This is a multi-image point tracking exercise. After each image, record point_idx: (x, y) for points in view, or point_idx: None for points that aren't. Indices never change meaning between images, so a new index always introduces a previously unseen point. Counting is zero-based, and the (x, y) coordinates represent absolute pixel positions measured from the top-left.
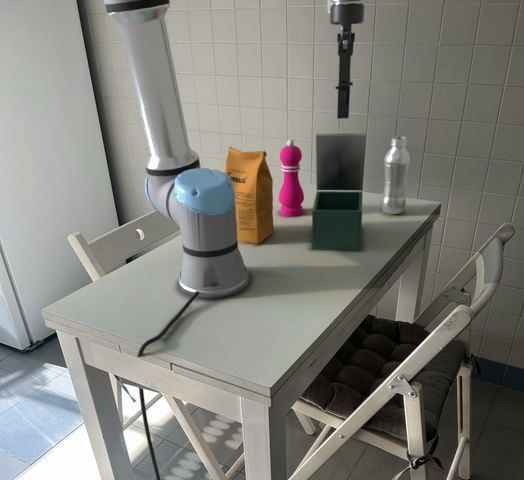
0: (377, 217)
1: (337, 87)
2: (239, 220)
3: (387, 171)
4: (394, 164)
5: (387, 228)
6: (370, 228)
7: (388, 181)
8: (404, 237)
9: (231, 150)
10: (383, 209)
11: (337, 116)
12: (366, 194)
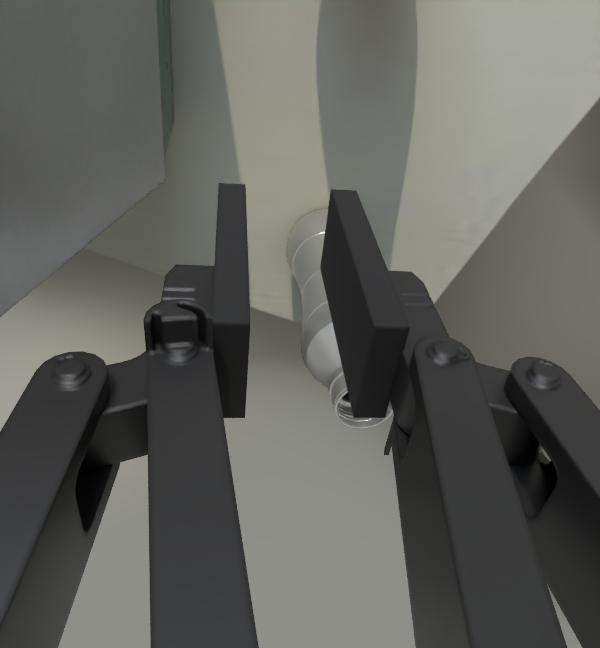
0: (283, 186)
1: (147, 332)
2: None
3: (322, 290)
4: (303, 329)
5: (181, 209)
6: (176, 156)
7: (316, 275)
8: (110, 249)
9: None
10: (307, 214)
11: (219, 191)
12: (528, 166)
